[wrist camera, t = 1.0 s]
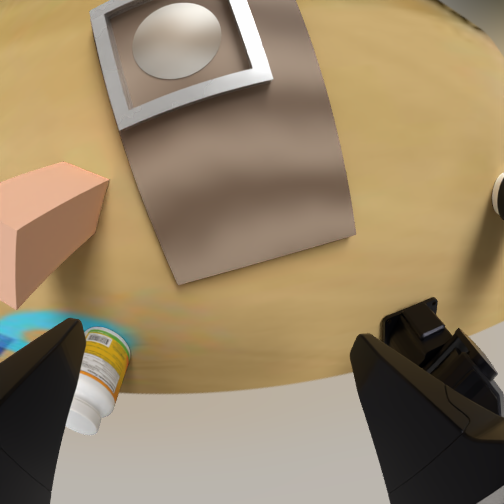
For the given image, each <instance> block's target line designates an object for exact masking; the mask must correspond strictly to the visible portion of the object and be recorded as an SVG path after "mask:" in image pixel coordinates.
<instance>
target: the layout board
mask: <svg viewBox="0 0 504 504" xmlns="http://www.w3.org/2000/svg"><path fill="white" fill-rule="evenodd" d="M90 17H91V19H90V20H91V25H92V30H93V35H94V40H95V44H96V49H97V53H98V57H99V62H100V66H101V70H102V74H103V78H104V81H105V85H106V89H107V93H108V96H109V100H110V103H111V107H112V110H113V114H114V117H115V120H116V124H117V127H118V130H119V133H120V136H121V140H122V143H123V146H124V149H125V152H126V155H127V158H128V161H129V164H130V167H131V169H132V172H133V175H134V178H135V181H136V183H137V186H138V189H139V192H140V194H141V197H142V200H143V202H144V205H145V208H146V210H147V213H148V215H149V218H150V220H151V223H152V225H153V228H154V230H155V233H156V235H157V238H158V240H159V243H160V245H161V247H162V250H163V252H164V254H165V257H166V259H167V261H168V264H169V266H170V268H171V271H172V273H173V275H174V277H175V280H176V282H177V284H178V285H181V284H184V283H188V282H192V281H195V280H199V279H203V278H206V277H210V276H213V275H217V274H221V273H224V272H228V271H231V270H235V269H239V268H242V267H246V266H249V265H253V264H256V263H260V262H263V261H267V260H270V259H274V258H277V257H281V256H284V255H288V254H291V253H295V252H298V251H302V250H305V249H309V248H312V247H316V246H319V245H323V244H326V243H330V242H333V241H336V240H340V239H343V238H347V237H350V236H353V235H356V229H355V222H354V215H353V209H352V203H351V197H350V191H349V186H348V180H347V175H346V170H345V165H344V160H343V155H342V151H341V146H340V142H339V137H338V133H337V129H336V125H335V121H334V117H333V113H332V109H331V105H330V101H329V98H328V94H327V91H326V87H325V84H324V80H323V77H322V74H321V70H320V67H319V64H318V61H317V58H316V55H315V51H314V48H313V46H312V43H311V40H310V37H309V34H308V31H307V28H306V26H305V23H304V20H303V18H302V15H301V12H300V10H299V7H298V5H297V2H296V0H110V1H108V2H106V3H104V4H102V5H100V6H98V7H96V8H94V9H92V10H90Z"/></svg>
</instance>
